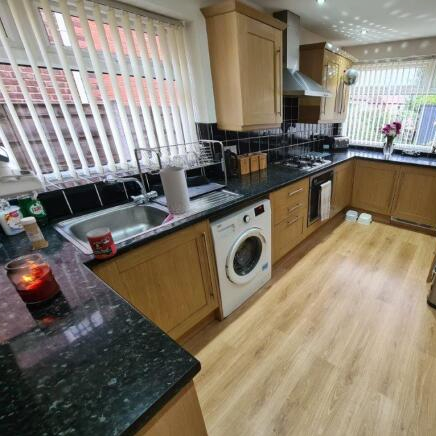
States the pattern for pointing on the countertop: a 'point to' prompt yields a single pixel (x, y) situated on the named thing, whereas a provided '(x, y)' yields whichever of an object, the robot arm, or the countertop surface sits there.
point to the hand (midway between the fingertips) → (20, 203)
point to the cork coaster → (41, 247)
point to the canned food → (101, 243)
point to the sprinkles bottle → (33, 232)
